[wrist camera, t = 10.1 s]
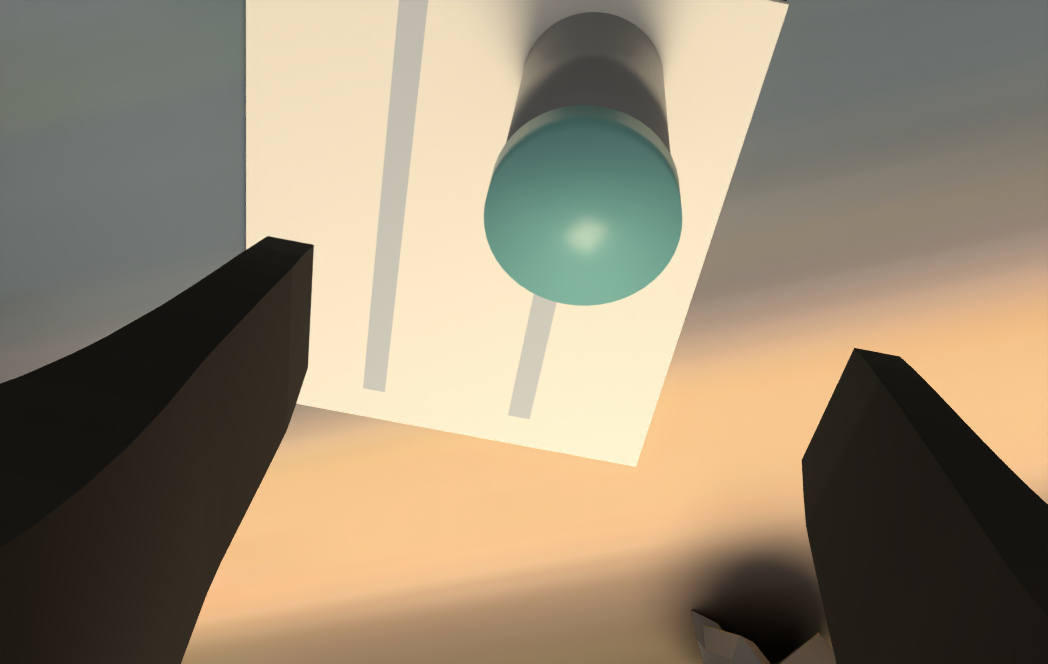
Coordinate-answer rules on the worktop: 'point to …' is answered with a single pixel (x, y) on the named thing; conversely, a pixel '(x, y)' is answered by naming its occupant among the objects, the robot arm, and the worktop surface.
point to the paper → (473, 208)
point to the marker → (586, 167)
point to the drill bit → (752, 647)
